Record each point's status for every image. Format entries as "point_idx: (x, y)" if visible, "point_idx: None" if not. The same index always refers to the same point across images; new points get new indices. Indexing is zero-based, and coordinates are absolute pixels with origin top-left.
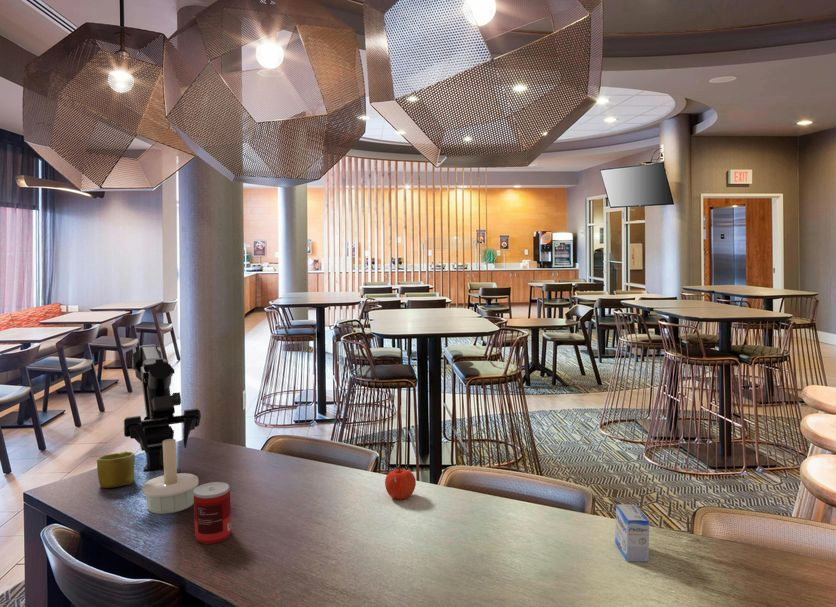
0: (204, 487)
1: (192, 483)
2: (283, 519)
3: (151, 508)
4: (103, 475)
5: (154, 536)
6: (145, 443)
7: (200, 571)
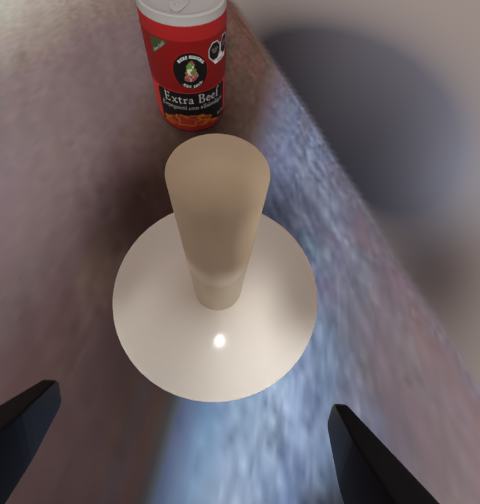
0: (190, 13)
1: (158, 230)
2: (56, 94)
3: None
4: None
5: (286, 163)
6: (387, 468)
7: (243, 46)
